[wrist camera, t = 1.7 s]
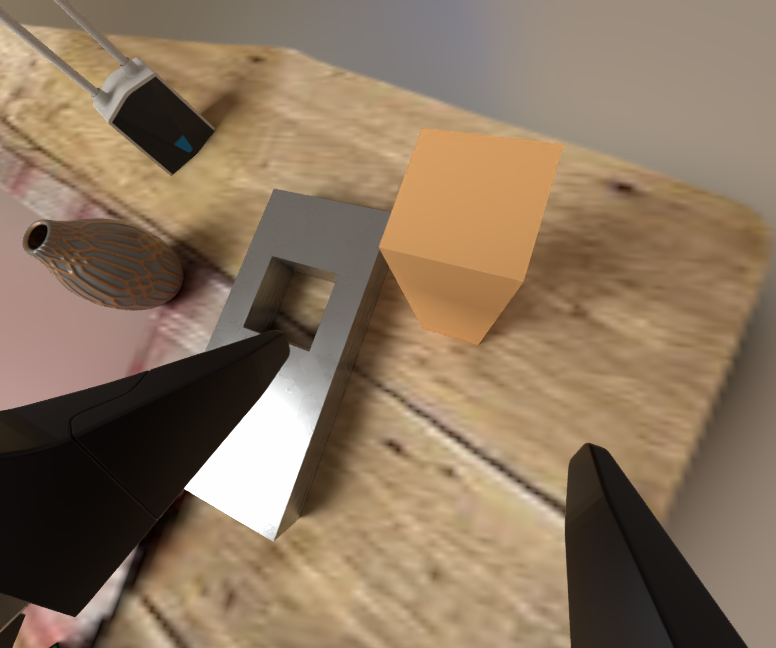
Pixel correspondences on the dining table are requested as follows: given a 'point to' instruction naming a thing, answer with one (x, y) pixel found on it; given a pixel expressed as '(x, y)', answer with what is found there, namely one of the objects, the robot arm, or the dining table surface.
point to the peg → (467, 226)
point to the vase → (107, 261)
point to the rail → (293, 354)
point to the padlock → (133, 100)
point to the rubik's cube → (54, 646)
